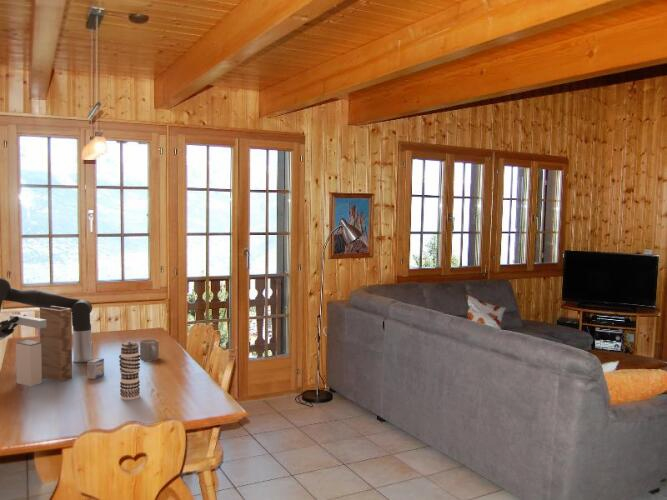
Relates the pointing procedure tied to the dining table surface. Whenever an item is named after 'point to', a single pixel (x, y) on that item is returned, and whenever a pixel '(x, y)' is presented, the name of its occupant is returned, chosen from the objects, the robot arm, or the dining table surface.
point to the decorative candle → (129, 370)
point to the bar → (29, 321)
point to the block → (28, 362)
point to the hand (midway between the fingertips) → (21, 317)
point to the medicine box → (95, 368)
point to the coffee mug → (149, 349)
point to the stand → (56, 343)
